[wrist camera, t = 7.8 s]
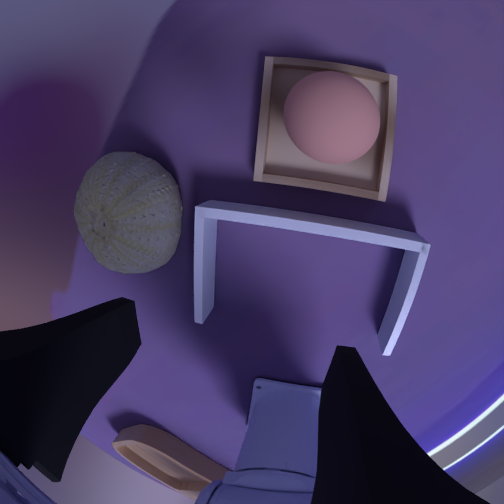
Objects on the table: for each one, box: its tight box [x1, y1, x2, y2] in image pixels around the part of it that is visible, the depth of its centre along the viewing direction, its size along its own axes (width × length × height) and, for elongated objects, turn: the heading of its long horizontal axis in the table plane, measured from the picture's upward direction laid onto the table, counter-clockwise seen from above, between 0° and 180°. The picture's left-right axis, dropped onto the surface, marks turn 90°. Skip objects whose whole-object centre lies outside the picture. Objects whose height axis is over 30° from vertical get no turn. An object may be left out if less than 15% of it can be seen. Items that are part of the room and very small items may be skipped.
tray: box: [253, 56, 397, 202], centre depth 14 cm, size 8×8×1 cm
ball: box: [283, 71, 380, 164], centre depth 12 cm, size 5×5×5 cm
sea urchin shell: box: [74, 151, 183, 274], centre depth 18 cm, size 9×8×8 cm
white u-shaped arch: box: [194, 200, 431, 356], centre depth 17 cm, size 8×14×2 cm, turn 85°
